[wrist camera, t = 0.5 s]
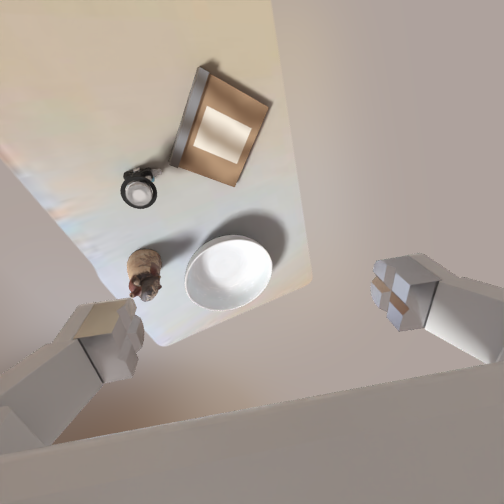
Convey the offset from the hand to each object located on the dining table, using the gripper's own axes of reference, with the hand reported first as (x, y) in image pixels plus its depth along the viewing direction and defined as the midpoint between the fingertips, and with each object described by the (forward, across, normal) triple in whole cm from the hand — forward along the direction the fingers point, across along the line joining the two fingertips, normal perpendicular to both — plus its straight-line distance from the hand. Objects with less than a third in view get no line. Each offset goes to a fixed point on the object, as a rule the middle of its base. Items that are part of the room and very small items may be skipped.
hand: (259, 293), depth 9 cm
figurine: (+47, +20, +22) cm, 56 cm away
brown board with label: (+47, 0, -1) cm, 47 cm away
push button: (+45, +15, +4) cm, 48 cm away
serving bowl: (+51, +3, +28) cm, 58 cm away
